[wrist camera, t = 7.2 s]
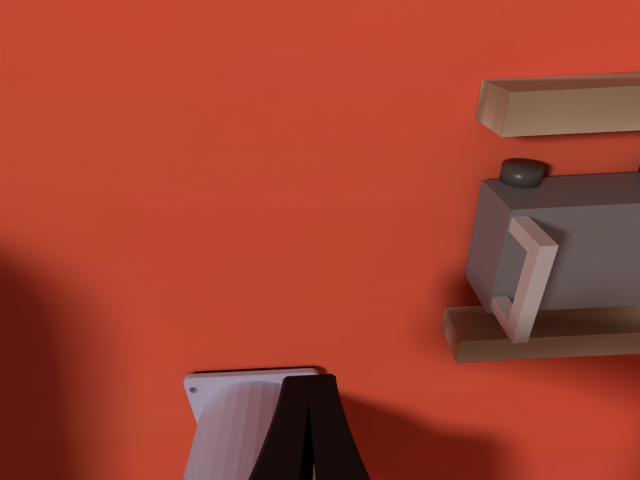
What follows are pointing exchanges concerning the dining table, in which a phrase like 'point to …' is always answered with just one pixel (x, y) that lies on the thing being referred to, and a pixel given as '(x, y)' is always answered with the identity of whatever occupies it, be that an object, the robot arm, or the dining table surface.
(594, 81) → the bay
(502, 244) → the grey box with knobs
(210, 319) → the dining table surface
